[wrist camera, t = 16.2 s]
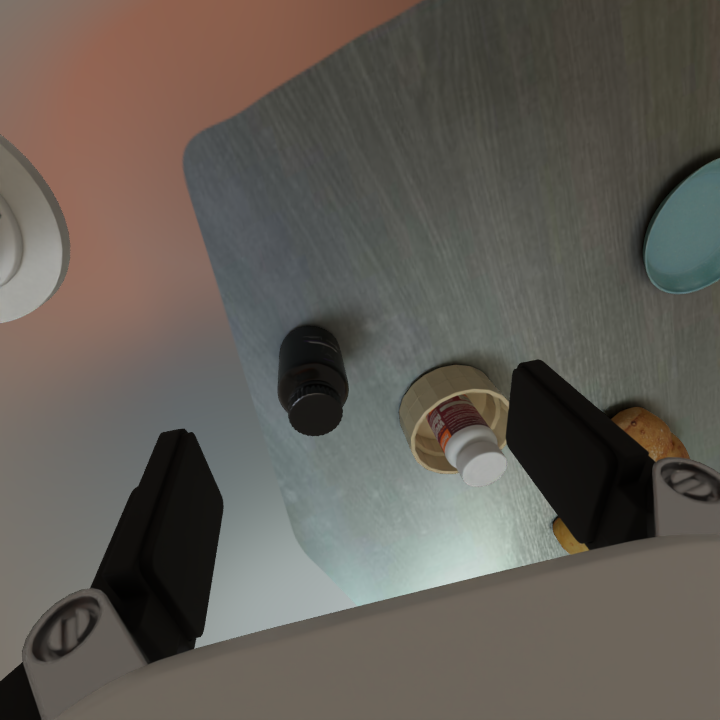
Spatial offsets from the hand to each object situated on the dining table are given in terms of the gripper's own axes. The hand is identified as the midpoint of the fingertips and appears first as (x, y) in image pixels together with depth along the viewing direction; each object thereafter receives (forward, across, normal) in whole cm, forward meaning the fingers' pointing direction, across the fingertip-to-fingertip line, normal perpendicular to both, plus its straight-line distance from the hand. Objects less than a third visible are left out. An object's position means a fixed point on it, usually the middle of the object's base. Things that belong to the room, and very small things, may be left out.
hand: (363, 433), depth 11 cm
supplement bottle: (+31, +2, +13) cm, 33 cm away
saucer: (+31, -43, +6) cm, 53 cm away
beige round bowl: (+30, -14, +25) cm, 42 cm away
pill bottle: (+30, -14, +25) cm, 41 cm away
